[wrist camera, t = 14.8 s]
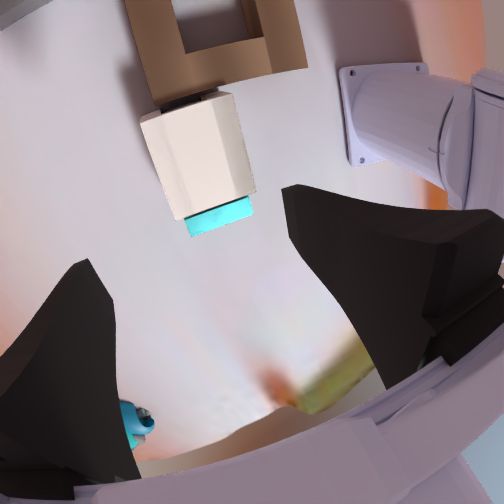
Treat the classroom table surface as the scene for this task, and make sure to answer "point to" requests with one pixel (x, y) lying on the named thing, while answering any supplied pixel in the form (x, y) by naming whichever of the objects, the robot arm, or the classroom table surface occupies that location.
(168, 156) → the block
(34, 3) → the block
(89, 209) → the classroom table surface
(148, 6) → the socket block
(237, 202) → the key
